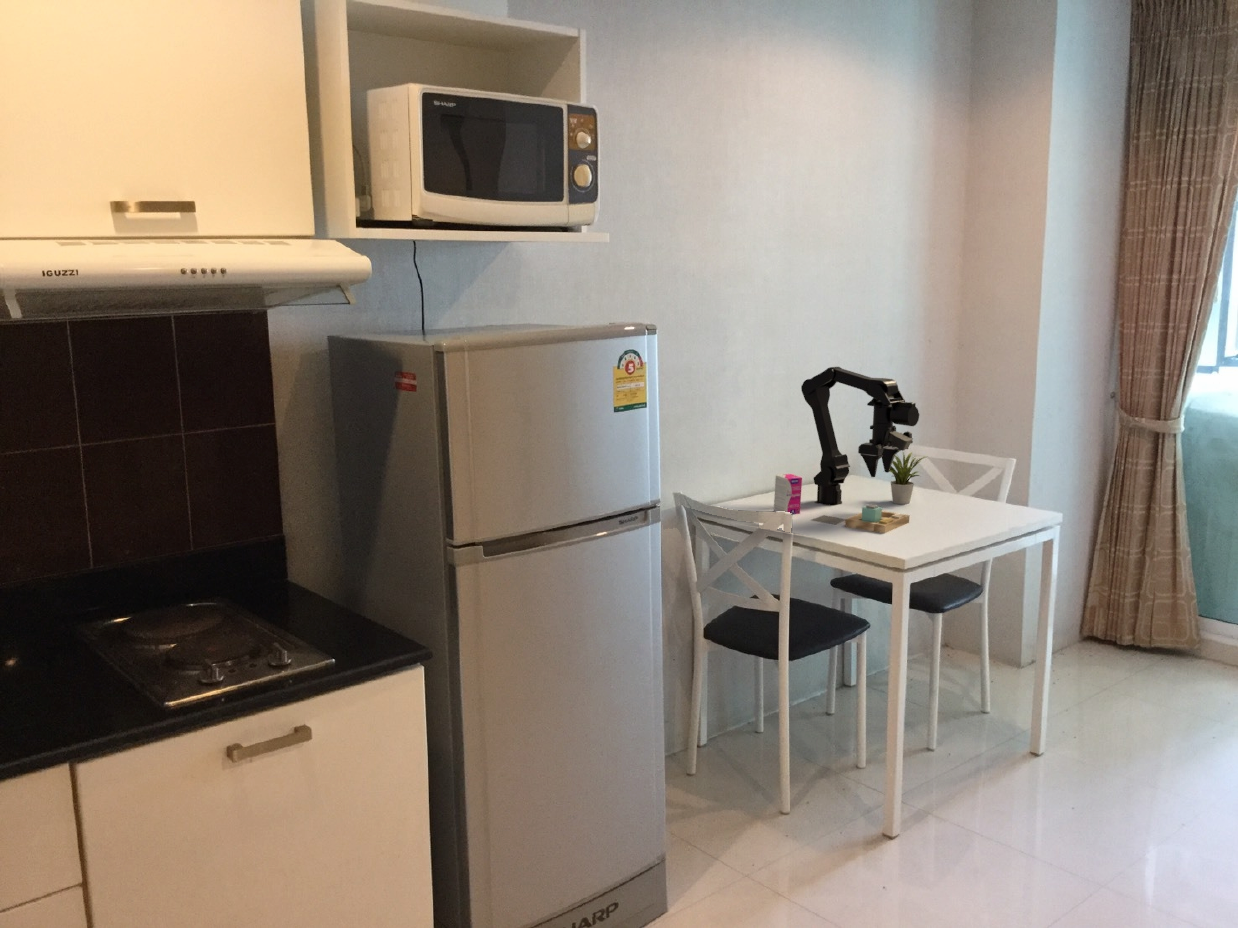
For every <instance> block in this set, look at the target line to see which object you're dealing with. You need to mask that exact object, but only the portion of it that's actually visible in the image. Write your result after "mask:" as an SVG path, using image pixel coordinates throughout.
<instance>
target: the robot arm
mask: <svg viewBox="0 0 1238 928" xmlns="http://www.w3.org/2000/svg"><path fill="white" fill-rule="evenodd" d="M837 383H839V384H842V385H845V386H848V387H852V388H855V389H857V390H861V391H863V392H865V393H866V394H867V396H869V397H871V398H872V399H870V401H869V402H867V404H866V405H867V406H869V407H873V412H872V413H873V414H872V416H873V417H872V424H871V425H869V429H870V430H872V433H871V434H872V435H871V438H869V442H863V443H861V444H860V445H859V446H858V449H857V450H858V451H857V452H858V454H860V457H862V460H863V461H864V464H865V465H866V468H867V470H868V472H869V474H870V477H871V478H876V475H877V470H878V463H879V460H880V459H881V461H882V465H883V471H884V472H885V473H889V470H890V468H891V466H892V465H893V463H892V462H893V461H894V459H895V455H896V456H897V455H898V453H899V452H901V451H902V452H904V451H905V450H909V447H910V446H911V444H913V443H914V441H913V440H914V438H913V433H912V432H911V431H909V430H907V431H904V433H902V432H898V431H897V427H896V425H901V426H906V427H907V426H908V427H915V426H916V425H917V424H918V422H919V420H920V413H919V409H918V407H916V402H914V401H909V402H908V401H906V400H905V398H904V396H903V395H902V393H901V391H900V389H899V385H898V383H897V381H896V380H895V379H893V378H886V377H885V378H884V377H871V376H868V375H864V374H861V373H858V372H855V371H852V370H847V369H846V368H845V369H844V368H842V367H840V366H830V367H828V368H826V369H825V370H823V371H822V372H820V373H818V374H817V375H815V376H813V377H811V378H807V379H806V380H804V381H803V382H802V384H801V393H802V396H803V399H804V400H805V402H806V403H807V404H808V406H809V407H810V408H811V410H812V414H813V420H814V422H815V423H814V424H815V427H816V432H817V436H818V440H819V444H820V449H821V459H820V461H819V462H820V463H819V465H820V471H819V472H818V473H817V474H816V475H814V477H813V479H812V480H813V483H814V485H815V486H817V494H816V501H814V502H813V503H815V504H817V505H818V504H819V505H820V504H821V505H825V506H831V507H833V506H836V505H841V504H842V503H843V501H842V489H841V485H842V484H844V483H845V480H846V478H847V477H848V475H849V474H850V468H851V465H850V464H849V458H848V455H847V453H846V454H842V453H841V452H840V450H839V448H838V442H837V439H836V438H837V437H836V434H835V429H834V426H833V421H832V417H831V412H830V409H829V402H830V397H831V392H830V390H831V389H832V388H833V387H835V385H837Z"/></svg>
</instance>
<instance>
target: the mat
mask: <svg viewBox="0 0 1238 928" xmlns="http://www.w3.org/2000/svg"><path fill="white" fill-rule="evenodd" d="M845 519H846V518H842V517H837V516H831V515H825V514H823V515H820V516H818V517H815V518H813V519H811V521H813V522H817V523H818V522H819V523H824V524H829V525H834V526H835V525H837V524H841V523H845Z"/></svg>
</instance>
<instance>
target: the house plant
mask: <svg viewBox="0 0 1238 928" xmlns="http://www.w3.org/2000/svg"><path fill="white" fill-rule="evenodd" d="M912 454H913V452H910V453H908V455H907V456H905V455H906V454H905V453H904V452H902V455H903V457H902V461H901V458H900V457H899V456H898V455H897V454H896V455H895V457H894V459H896V461H895V460H893V462H892V465H893V466H894V467H895V468H894V467H893V466H892V465H891V468H890V470H889V472H890V473H892V475H891V478H892V477H894V478H895V480H892V481H890V487H891V488H890V489H891V491H890V492H891V499H892V502H893V503H894V504H898V505H905V504H906V505H909V504H910V503H911V499H912V493H913V491H914V485H915V483H914V482H912V481H910V479H911V478H914V477H920V475H919V474H918V473H920V474H922V472H920V471H914V472H912V470H913V469H915V467H917V465H918V464H919V463H920V462H921V461H922V460H923V459H926V458H927V456H923V457H921V458H917V459H916V455H914V456H913V458H912V459H911V457H912ZM909 461H910V462H909ZM883 472H885V470H883ZM889 472H888V473H889ZM911 472H912V473H911Z"/></svg>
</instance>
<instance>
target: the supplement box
mask: <svg viewBox="0 0 1238 928" xmlns="http://www.w3.org/2000/svg"><path fill="white" fill-rule="evenodd" d="M774 480H775V481H774V482H775V483H774V499H773V512H774V511H785V512H790V513H792V515H798V514H799V515H800V514H801V500H802V486H803V485H802V483H803V477H801V476H798V475H795V474H792V473H788V474H787V473H786V474H776V475H775V479H774Z"/></svg>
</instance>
